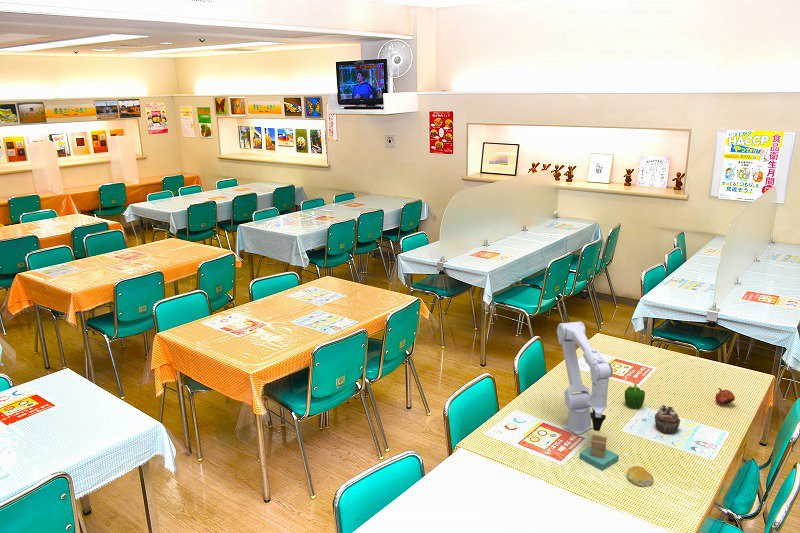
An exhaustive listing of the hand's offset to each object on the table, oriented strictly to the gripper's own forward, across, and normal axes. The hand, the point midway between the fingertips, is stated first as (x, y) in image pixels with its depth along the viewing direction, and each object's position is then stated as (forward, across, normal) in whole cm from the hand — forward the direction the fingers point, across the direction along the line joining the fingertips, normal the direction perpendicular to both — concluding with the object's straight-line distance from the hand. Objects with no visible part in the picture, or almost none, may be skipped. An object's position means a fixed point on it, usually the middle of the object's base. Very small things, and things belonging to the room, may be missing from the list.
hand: (596, 425), depth 235 cm
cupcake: (+10, -22, +28) cm, 37 cm away
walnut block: (+7, +8, +1) cm, 11 cm away
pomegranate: (+10, -51, +54) cm, 75 cm away
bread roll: (+10, +17, +15) cm, 25 cm away
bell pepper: (+10, -39, +16) cm, 43 cm away
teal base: (+10, +8, +2) cm, 13 cm away
